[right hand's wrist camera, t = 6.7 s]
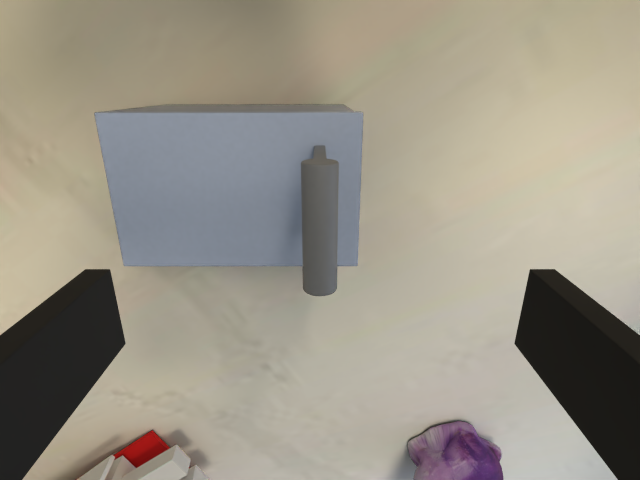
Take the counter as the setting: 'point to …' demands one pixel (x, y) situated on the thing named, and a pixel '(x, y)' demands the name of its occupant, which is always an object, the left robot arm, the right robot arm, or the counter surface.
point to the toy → (146, 463)
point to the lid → (236, 189)
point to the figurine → (454, 454)
